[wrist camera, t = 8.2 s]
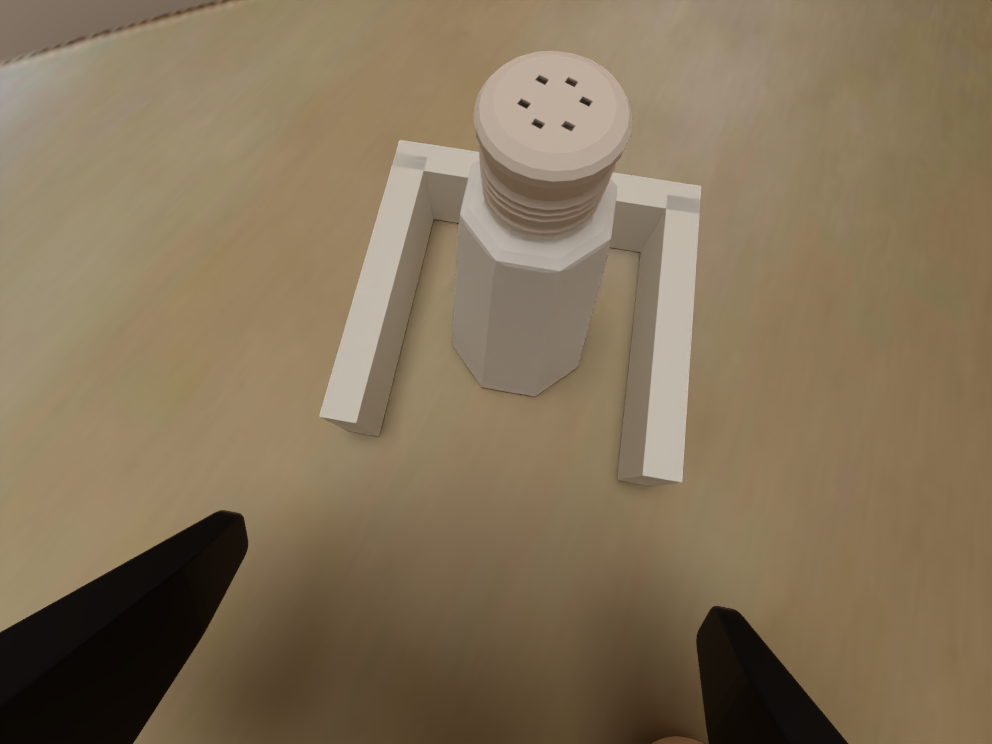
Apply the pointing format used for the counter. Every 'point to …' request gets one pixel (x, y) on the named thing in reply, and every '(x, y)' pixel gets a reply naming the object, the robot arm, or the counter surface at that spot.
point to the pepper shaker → (537, 218)
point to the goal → (637, 227)
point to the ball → (677, 740)
